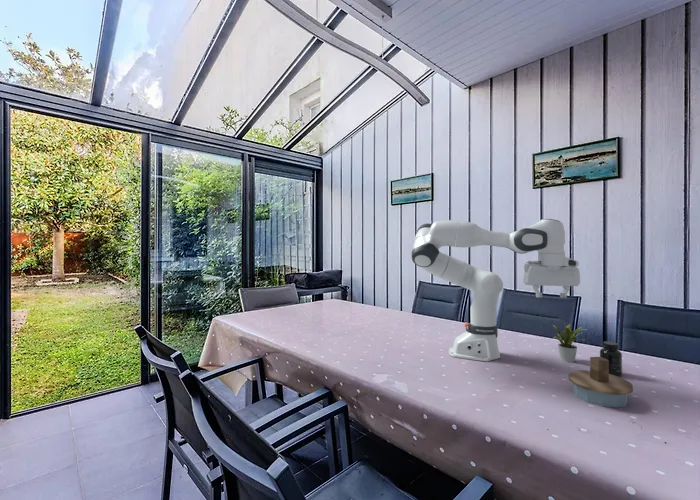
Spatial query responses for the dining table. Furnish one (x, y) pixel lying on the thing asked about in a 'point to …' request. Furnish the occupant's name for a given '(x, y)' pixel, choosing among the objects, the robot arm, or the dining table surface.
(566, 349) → the house plant
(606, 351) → the supplement bottle
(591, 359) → the walnut lid
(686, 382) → the dining table surface
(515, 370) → the dining table surface
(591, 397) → the slate bowl
